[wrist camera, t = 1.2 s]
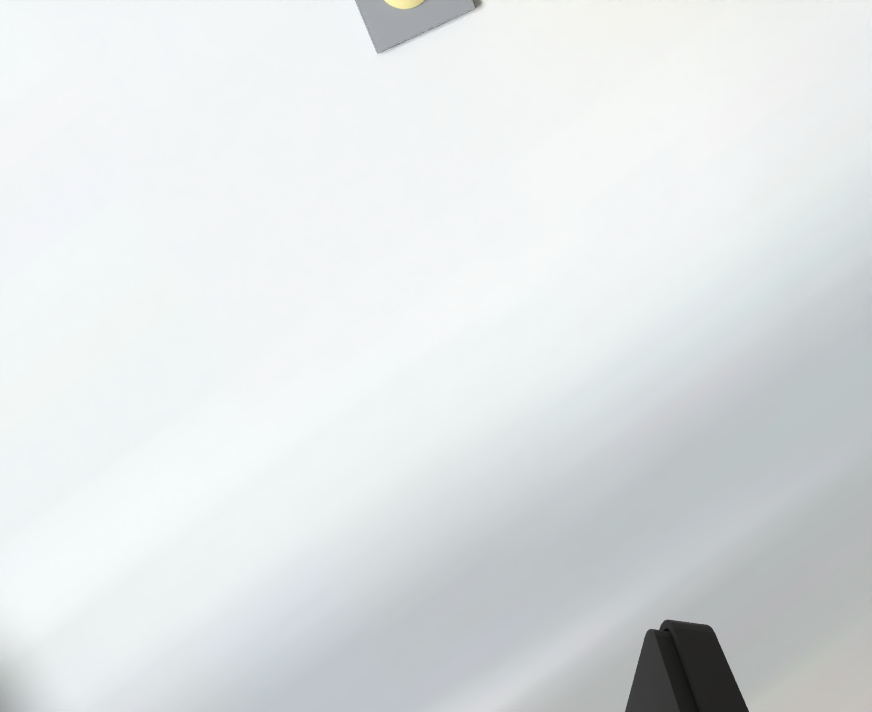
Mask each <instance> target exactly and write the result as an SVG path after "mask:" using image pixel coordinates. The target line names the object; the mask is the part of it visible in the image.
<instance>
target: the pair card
mask: <svg viewBox="0 0 872 712" xmlns="http://www.w3.org/2000/svg"><path fill="white" fill-rule="evenodd" d="M355 1H356V4H357V6H358V9H359V11H360V13H361V16H362V18H363V21H364V23H365V25H366V28H367V30H368V33H369V35H370V37H371V40H372V42H373V45H374V47H375V49H376V52H377V53H380V52H382V51H384V50H386V49H389V48H391V47H393V46H395V45H397V44H399V43H402V42H404V41H406V40H408V39H410V38H412V37H415V36H417V35H419V34H421V33H423V32H425V31H428V30H430V29H432V28H434V27H436V26H438V25H441V24H443V23H445V22H447V21H449V20H451V19H454V18H456V17H458V16H460V15H462V14H464V13H466V12H469V11H471V10H473V9H475V6H474V3H473V1H472V0H355Z"/></svg>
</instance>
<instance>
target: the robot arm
mask: <svg viewBox="0 0 872 712" xmlns="http://www.w3.org/2000/svg"><path fill="white" fill-rule="evenodd" d="M625 712H749V711H748V708H747V706H746V704H745V701H744V699H743V697H742V695H741V692H740V690H739V688H738V685H737V683H736V681H735V678H734V676H733V674H732V672H731V669H730V667H729V665H728V662H727V660H726V658H725V655H724V653H723V651H722V649H721V646H720V644H719V642H718V639H717V637H716V635H715V633H714V631H713V629H712V628H711V627H710V626H708V625H704V624H696V623H689V622H681V621H674V620H665V621H664V622H663V623H662V624H661V627H660V629H659V630H654V629H650V630H648V631H647V633H646V636H645V638H644V642H643V646H642V650H641V654H640V657H639V661H638V665H637V669H636V673H635V676H634V680H633V684H632V688H631V692H630V695H629V699H628V703H627V707H626V711H625Z"/></svg>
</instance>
